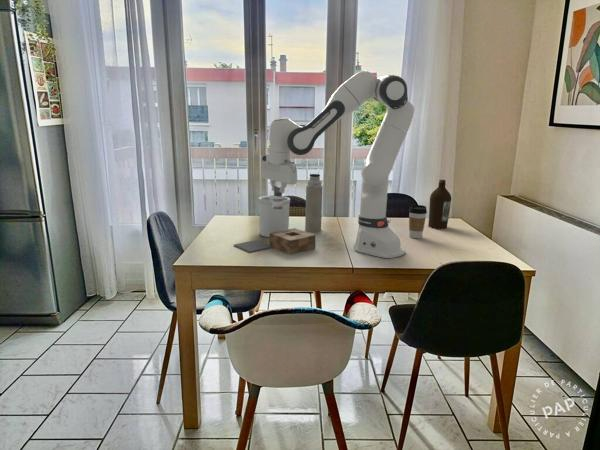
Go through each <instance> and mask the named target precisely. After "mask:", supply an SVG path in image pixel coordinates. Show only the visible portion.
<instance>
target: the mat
mask: <svg viewBox="0 0 600 450" xmlns="http://www.w3.org/2000/svg"><path fill="white" fill-rule="evenodd" d="M233 247H235V248H238V249H240V250H242V251H244V252H247V253H250V254H251V253H255V252H259V251H263V250H264V251H265V250H268V249H272V248H273V246H271V245H270V244H268V243H265V242H263V241H260V240H258V239H253V240H250V241H245V242H240V243H239V242H238V243H236V244H233ZM273 249H274V248H273Z"/></svg>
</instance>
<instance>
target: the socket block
mask: <svg viewBox="0 0 600 450" xmlns="http://www.w3.org/2000/svg"><path fill="white" fill-rule="evenodd" d="M316 237H317V236H316V234H314V233H312V232H309V231H306V230H302V229H298V228H296V227H295V228H288V230H283V231H278V232H273V233H270V237H269V245H271V246H273V249H276V250H278V251H281V252H283V253H286V254H288V255H295V254H298V253H303V252H306V251H310V250H314V249H316V242H317V241H316V239H317V238H316Z"/></svg>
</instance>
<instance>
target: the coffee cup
mask: <svg viewBox="0 0 600 450" xmlns="http://www.w3.org/2000/svg"><path fill="white" fill-rule="evenodd" d="M408 212H409V215H408V227H409V228H408V232H409V233H408V236H409V238H410V237H411V239H414V238H420V239H423V232H424V228H425V223H426V215H427V213H428V210H427V206H426V205H421V204H414V205H411V206H409V209H408Z"/></svg>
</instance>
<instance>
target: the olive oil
mask: <svg viewBox="0 0 600 450" xmlns="http://www.w3.org/2000/svg"><path fill="white" fill-rule="evenodd" d="M446 182H447V181H446V179H439V180H438V187H436V189H435V190H433V191H432V192H431V194H430V196H429V206H428V207H429V209H428V210H429V212H428V225H427V226H428V228H430V227H431V229H434V228H435V229H434V230H445V229H447V228H448V222H449V217H450V209H451V205H452V194H451V193H450V192H449V190H448V189H447V188H446V185H447V184H446Z"/></svg>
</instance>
